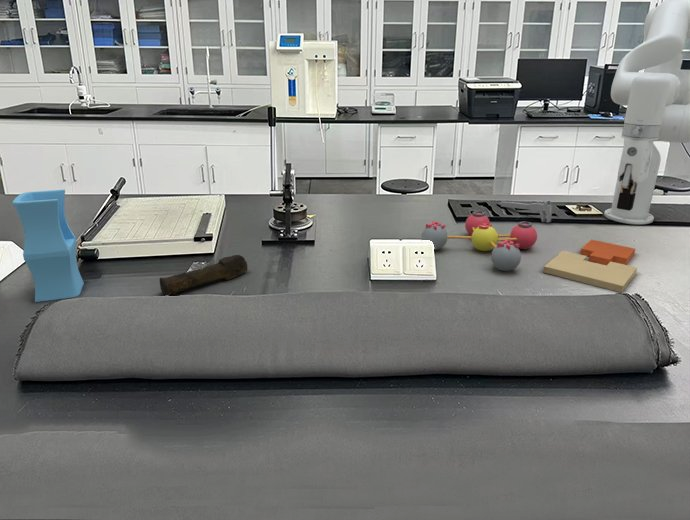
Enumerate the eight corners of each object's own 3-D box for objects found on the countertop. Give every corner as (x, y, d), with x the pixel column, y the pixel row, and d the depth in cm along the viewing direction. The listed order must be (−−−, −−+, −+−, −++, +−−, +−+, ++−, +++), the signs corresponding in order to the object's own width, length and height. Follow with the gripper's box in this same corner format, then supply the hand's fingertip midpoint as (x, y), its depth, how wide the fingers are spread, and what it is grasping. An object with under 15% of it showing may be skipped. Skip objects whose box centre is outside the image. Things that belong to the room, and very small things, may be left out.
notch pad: (561, 256, 125) (562, 250, 124) (636, 273, 116) (637, 267, 115) (543, 272, 116) (544, 266, 116) (621, 292, 107) (623, 285, 106)
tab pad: (590, 245, 132) (591, 239, 131) (634, 254, 126) (635, 248, 125) (576, 258, 124) (577, 252, 123) (622, 268, 118) (623, 262, 118)
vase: (78, 296, 106) (57, 200, 98) (34, 302, 104) (9, 203, 96) (84, 280, 113) (65, 189, 105) (43, 285, 111) (20, 192, 103)
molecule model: (415, 249, 129) (416, 224, 127) (461, 228, 144) (463, 205, 141) (510, 278, 114) (514, 250, 111) (552, 251, 128) (556, 226, 125)
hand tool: (166, 300, 104) (163, 279, 102) (159, 293, 107) (156, 272, 105) (253, 276, 115) (251, 257, 113) (244, 270, 118) (243, 251, 116)
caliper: (550, 223, 147) (554, 201, 145) (547, 224, 147) (551, 202, 144) (499, 204, 164) (502, 184, 161) (497, 205, 163) (499, 185, 161)
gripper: (651, 137, 114) (633, 218, 121) (665, 130, 125) (648, 205, 132) (614, 133, 119) (599, 212, 125) (630, 127, 129) (615, 200, 136)
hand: (624, 208), depth 129 cm, fingers closed
